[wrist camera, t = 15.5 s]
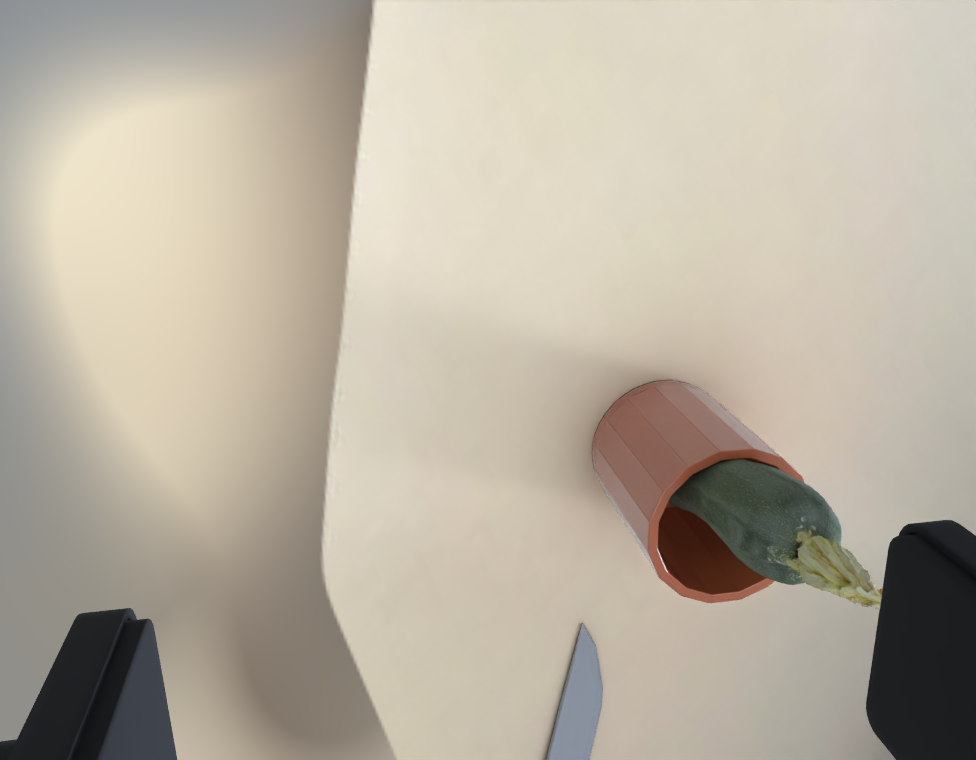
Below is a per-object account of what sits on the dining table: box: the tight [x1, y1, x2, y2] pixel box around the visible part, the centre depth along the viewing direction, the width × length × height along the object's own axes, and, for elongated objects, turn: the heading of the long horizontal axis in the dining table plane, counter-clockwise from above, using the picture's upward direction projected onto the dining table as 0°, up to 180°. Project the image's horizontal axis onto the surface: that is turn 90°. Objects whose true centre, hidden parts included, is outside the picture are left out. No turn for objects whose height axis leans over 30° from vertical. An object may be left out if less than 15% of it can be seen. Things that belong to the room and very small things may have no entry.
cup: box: [592, 381, 804, 603], centre depth 47 cm, size 8×8×10 cm
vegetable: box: [668, 459, 883, 609], centre depth 41 cm, size 4×4×20 cm
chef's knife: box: [546, 623, 603, 760], centre depth 57 cm, size 19×1×3 cm
